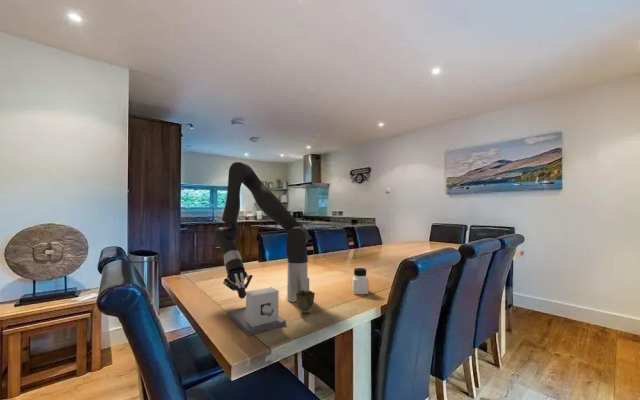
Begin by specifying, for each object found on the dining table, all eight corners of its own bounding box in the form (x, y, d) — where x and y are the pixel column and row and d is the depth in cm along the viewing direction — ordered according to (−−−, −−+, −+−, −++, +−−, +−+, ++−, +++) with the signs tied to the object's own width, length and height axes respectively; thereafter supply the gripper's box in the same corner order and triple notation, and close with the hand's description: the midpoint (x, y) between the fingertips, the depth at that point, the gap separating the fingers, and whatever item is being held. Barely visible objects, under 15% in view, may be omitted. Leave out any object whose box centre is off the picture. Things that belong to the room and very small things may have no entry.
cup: (307, 317, 106) (307, 296, 107) (292, 313, 110) (292, 293, 110) (318, 311, 113) (318, 291, 113) (303, 308, 116) (303, 288, 117)
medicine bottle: (368, 294, 135) (368, 269, 135) (353, 294, 135) (353, 269, 136) (366, 290, 142) (366, 266, 143) (352, 290, 142) (352, 266, 143)
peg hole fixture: (260, 307, 117) (261, 278, 118) (286, 325, 100) (286, 291, 100) (227, 314, 109) (227, 283, 110) (248, 335, 91) (248, 298, 92)
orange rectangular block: (263, 312, 106) (263, 289, 106) (277, 322, 96) (277, 296, 97) (248, 316, 102) (248, 291, 102) (261, 327, 93) (261, 299, 93)
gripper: (220, 259, 119) (229, 295, 109) (250, 256, 127) (260, 289, 117) (216, 269, 123) (224, 305, 113) (245, 266, 131) (255, 299, 121)
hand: (243, 297), depth 115 cm, fingers closed
